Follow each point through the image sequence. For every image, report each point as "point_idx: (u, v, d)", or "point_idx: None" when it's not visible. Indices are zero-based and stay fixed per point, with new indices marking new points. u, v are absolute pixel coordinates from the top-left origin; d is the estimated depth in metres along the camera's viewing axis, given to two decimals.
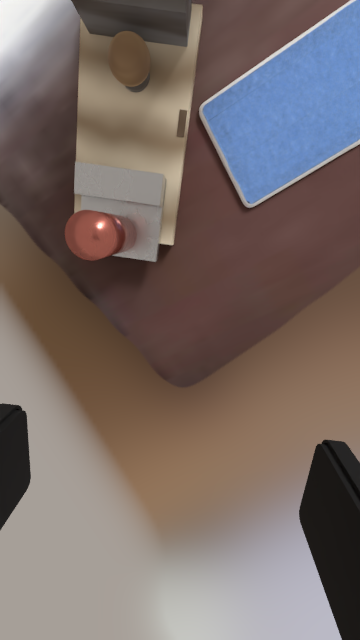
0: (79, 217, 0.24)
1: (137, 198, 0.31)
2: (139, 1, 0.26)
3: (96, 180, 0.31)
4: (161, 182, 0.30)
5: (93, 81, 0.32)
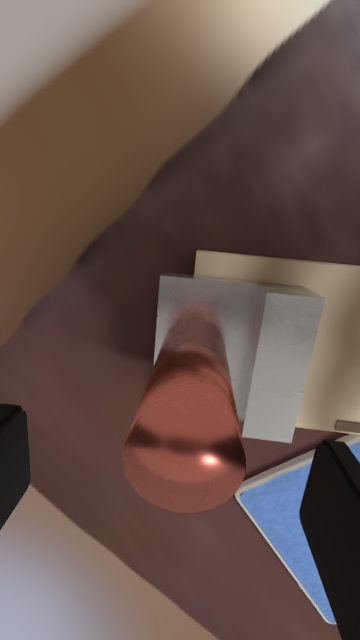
0: (227, 447, 0.09)
1: (254, 403, 0.18)
2: None
3: (288, 336, 0.16)
4: (278, 439, 0.18)
5: None
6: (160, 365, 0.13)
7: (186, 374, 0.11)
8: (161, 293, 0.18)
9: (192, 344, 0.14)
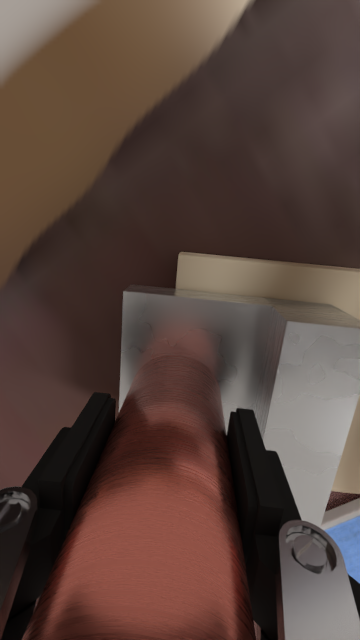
0: None
1: None
2: None
3: (318, 388, 0.11)
4: None
5: None
6: (105, 465, 0.07)
7: (143, 517, 0.06)
8: (126, 317, 0.12)
9: (167, 415, 0.09)
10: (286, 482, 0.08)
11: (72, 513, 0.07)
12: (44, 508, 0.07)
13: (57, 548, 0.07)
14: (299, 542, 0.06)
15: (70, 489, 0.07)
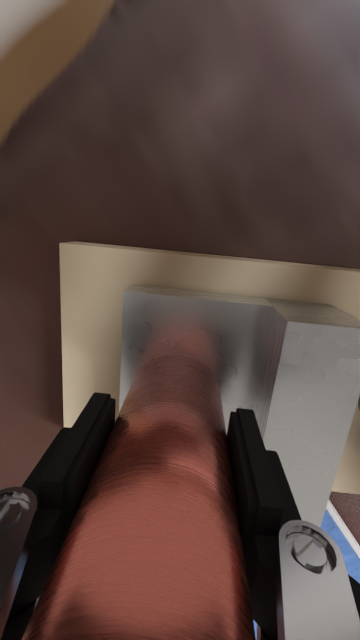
0: None
1: None
2: None
3: (318, 388, 0.11)
4: None
5: None
6: (105, 465, 0.07)
7: (143, 517, 0.06)
8: (126, 317, 0.12)
9: (167, 415, 0.09)
10: (286, 482, 0.08)
11: (72, 513, 0.07)
12: (44, 508, 0.07)
13: (57, 548, 0.07)
14: (299, 542, 0.06)
15: (70, 489, 0.07)
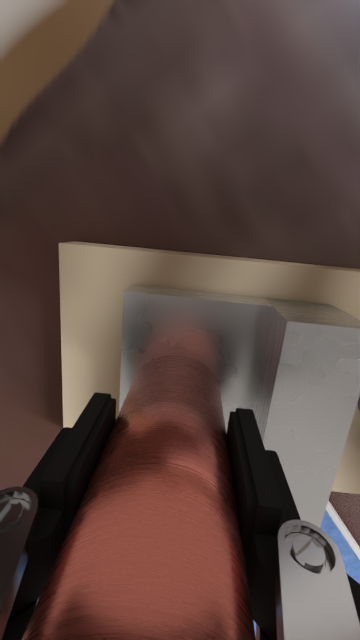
0: None
1: None
2: None
3: (318, 388, 0.11)
4: None
5: None
6: (106, 465, 0.07)
7: (143, 517, 0.06)
8: (126, 317, 0.12)
9: (167, 415, 0.09)
10: (285, 482, 0.08)
11: (73, 513, 0.07)
12: (45, 508, 0.07)
13: (58, 548, 0.07)
14: (298, 542, 0.06)
15: (71, 489, 0.07)
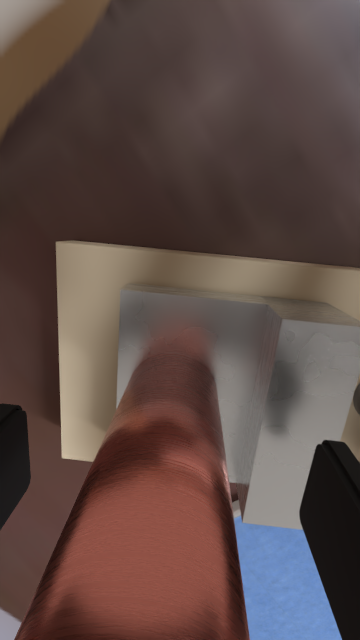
0: None
1: (260, 478, 0.12)
2: None
3: (313, 385, 0.11)
4: (295, 526, 0.13)
5: None
6: (102, 461, 0.07)
7: (138, 511, 0.06)
8: (123, 315, 0.12)
9: (162, 412, 0.09)
10: None
11: None
12: None
13: None
14: None
15: None
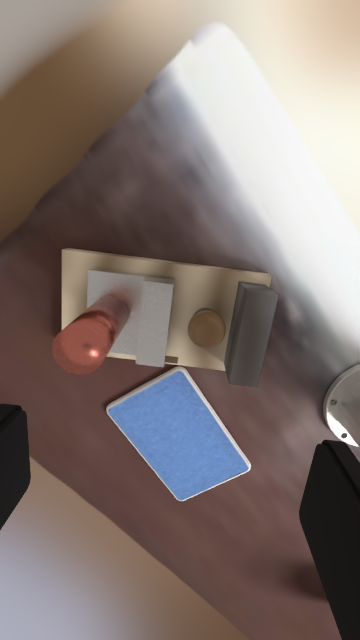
0: (95, 343, 0.23)
1: (141, 343, 0.31)
2: (239, 348, 0.30)
3: (156, 305, 0.30)
4: (156, 365, 0.32)
5: (201, 281, 0.33)
6: (78, 316, 0.27)
7: (86, 317, 0.25)
8: (89, 280, 0.31)
9: (98, 307, 0.28)
10: None
11: None
12: None
13: None
14: None
15: None
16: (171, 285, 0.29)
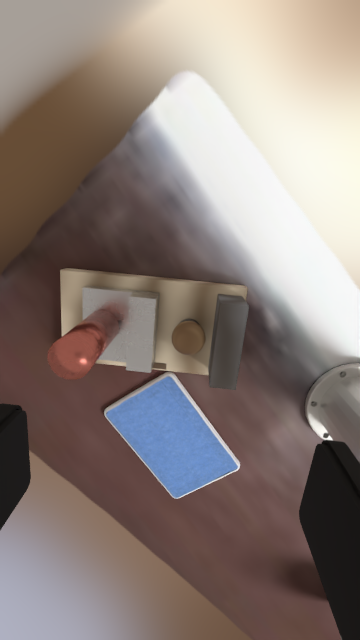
0: (83, 352, 0.27)
1: (129, 352, 0.35)
2: (216, 355, 0.34)
3: (141, 317, 0.34)
4: (144, 371, 0.36)
5: (184, 295, 0.37)
6: (71, 329, 0.31)
7: (76, 330, 0.29)
8: (83, 296, 0.36)
9: (89, 320, 0.32)
10: None
11: None
12: None
13: None
14: None
15: None
16: (154, 299, 0.33)
